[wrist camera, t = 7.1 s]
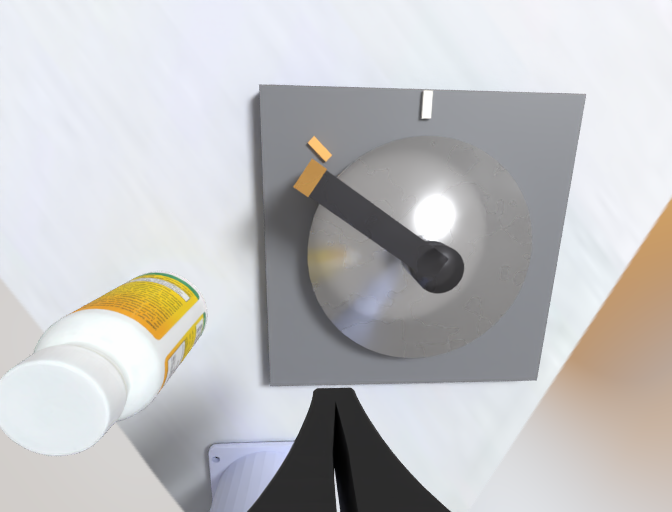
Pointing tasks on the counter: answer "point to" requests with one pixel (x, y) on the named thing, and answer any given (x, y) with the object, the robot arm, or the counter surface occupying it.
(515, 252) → the dial
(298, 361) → the dial plate
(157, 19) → the counter surface
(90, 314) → the supplement bottle
